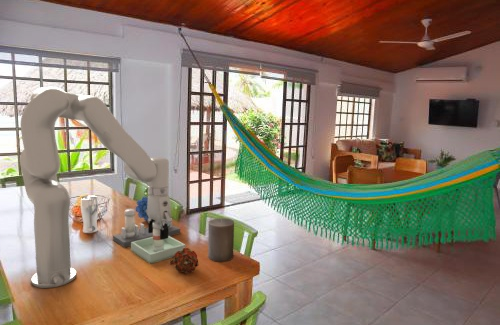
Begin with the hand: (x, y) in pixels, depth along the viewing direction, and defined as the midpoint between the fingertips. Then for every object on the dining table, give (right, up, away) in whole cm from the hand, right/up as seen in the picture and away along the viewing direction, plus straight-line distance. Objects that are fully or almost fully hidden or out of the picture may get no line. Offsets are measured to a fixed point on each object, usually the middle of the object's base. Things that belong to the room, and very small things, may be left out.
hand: (158, 235), depth 139 cm
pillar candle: (+24, -8, 0) cm, 25 cm away
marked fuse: (0, -6, +1) cm, 6 cm away
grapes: (-14, -1, +36) cm, 39 cm away
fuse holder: (-9, -4, +16) cm, 19 cm away
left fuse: (-14, -2, +11) cm, 18 cm away
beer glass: (-35, -2, +20) cm, 40 cm away
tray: (0, -7, +1) cm, 7 cm away
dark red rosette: (+12, -10, -13) cm, 20 cm away
